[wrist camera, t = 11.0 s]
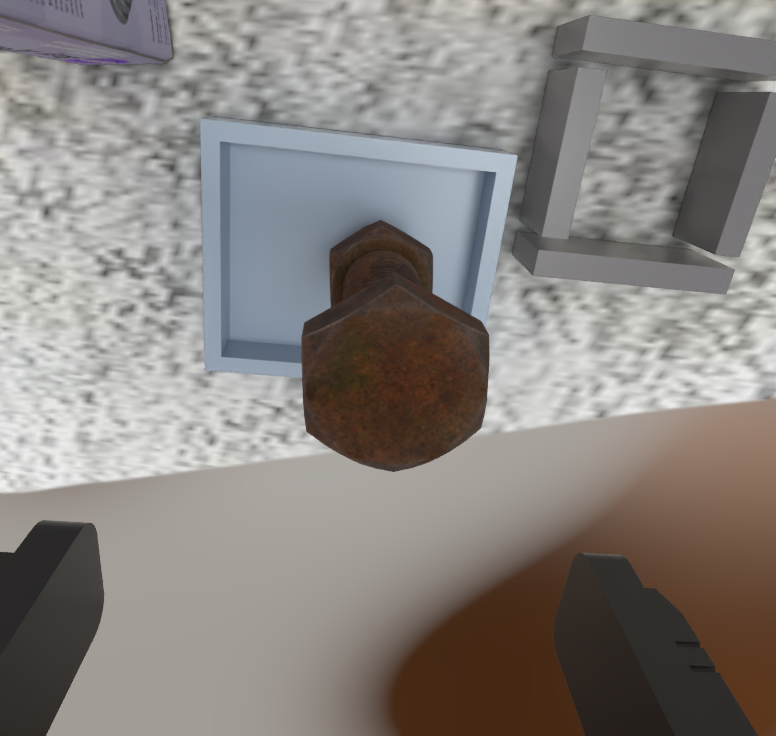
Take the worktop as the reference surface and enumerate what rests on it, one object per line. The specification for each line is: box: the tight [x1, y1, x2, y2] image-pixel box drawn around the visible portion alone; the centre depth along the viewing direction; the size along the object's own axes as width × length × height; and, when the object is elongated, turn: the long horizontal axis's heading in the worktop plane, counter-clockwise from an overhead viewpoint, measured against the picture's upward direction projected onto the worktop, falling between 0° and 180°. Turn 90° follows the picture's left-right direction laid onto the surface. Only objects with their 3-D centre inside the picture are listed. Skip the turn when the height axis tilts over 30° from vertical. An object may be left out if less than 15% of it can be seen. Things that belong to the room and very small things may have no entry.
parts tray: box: [200, 116, 518, 378], centre depth 29 cm, size 14×12×3 cm
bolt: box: [301, 220, 489, 472], centre depth 23 cm, size 6×5×15 cm
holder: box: [512, 15, 776, 294], centre depth 27 cm, size 9×10×4 cm
